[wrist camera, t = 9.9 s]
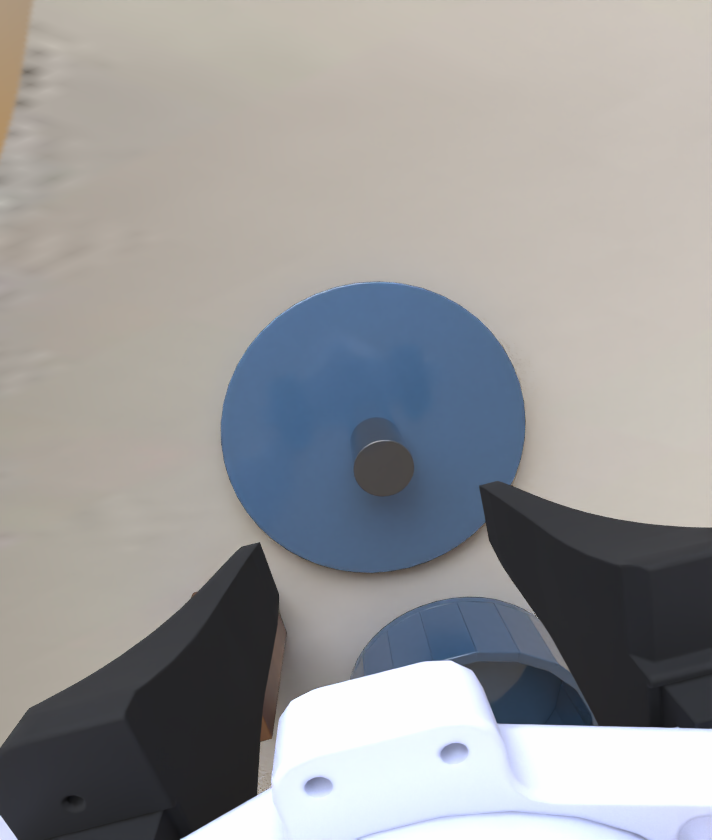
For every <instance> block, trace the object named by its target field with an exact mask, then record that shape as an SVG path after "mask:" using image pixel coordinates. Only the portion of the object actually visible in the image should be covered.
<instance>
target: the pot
mask: <svg viewBox="0 0 712 840" xmlns="http://www.w3.org/2000/svg"><path fill="white" fill-rule="evenodd" d="M424 661H453V662H455V663H457V664H459V665H461V666H463V667H466V668H468V669H470V670H472V671H473V672H474V674H475V676H476V677H477V679H478V680H479V682H480V684H481V685H482V687H483V689H484V691H485V694H486V696H487V699H488V702H489V704H490V707H491V709H492V712H493V714H494V717H495V719H496V722H497V724H533V725H575V726H599V725H598V723H597V721H596V719H595V717H594V715H593V713H592V711H591V709H590V707H589V706H588V704H587V702H586V700H585V698H584V696H583V694H582V692H581V691H580V689H579V687H578V685H577V683H576V681H575V679H574V678H573V676H572V674H571V672H570V670H569V668H568V666H567V665H566V663H565V661H564V659H563V657H562V656H561V654H560V652H559V650H558V649H557V647H556V645H555V643H554V641H553V640H552V638H551V636H550V635H549V633H548V631H547V630H546V628H545V627H544V625H543V624H542V622H541V621H540V620H539V619H538V618H537V617H536V616H534V615H533V614H531V613H529V612H528V611H526V610H524V609H522V608H520V607H518V606H515V605H513V604H510V603H507V602H503V601H500V600H496V599H489V598H482V597H461V598H451V599H445V600H440V601H436V602H432V603H429V604H426V605H423V606H420V607H418V608H416V609H413V610H411V611H409V612H407V613H405V614H403V615H402V616H400V617H398V618H396V619H395V620H393V621H392V622H391V623H389V624H388V625H387V626H385V627H384V628H383V629H381V630H380V631H379V632H378V633H377V634H376V635H375V636H374V637H373V638H372V639H371V641H370V642H369V643H368V644H367V645H366V647H365V648H364V649H363V651H362V653H361V654H360V656H359V658H358V659H357V661H356V664H355V666H354V668H353V671H352V674H351V678H350V680H352V679H356V678H360V677H364V676H368V675H372V674H376V673H380V672H384V671H388V670H392V669H396V668H400V667H404V666H408V665H412V664H416V663H420V662H424Z"/></svg>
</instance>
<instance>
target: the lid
mask: <svg viewBox="0 0 712 840" xmlns="http://www.w3.org/2000/svg"><path fill="white" fill-rule="evenodd" d="M524 439H525V410H524V400H523V396H522V392H521V387H520V383H519V380H518V378H517V375H516V372H515V370H514V367H513V365H512V363H511V361H510V359H509V357H508V356H507V354H506V352H505V350H504V348H503V347H502V346H501V344H500V343H499V342H498V340H497V339H496V338H495V336H494V335H493V334H492V332H491V331H490V330H489V329H488V328H487V327H486V326H485V325H484V324H483V323H482V322H481V321H480V320H479V319H478V318H477V317H475V316H474V315H473V314H471V313H470V312H469V311H467V310H466V309H465V308H463V307H462V306H461V305H459V304H457V303H455V302H453V301H451V300H450V299H448V298H446V297H444V296H442V295H440V294H437V293H434V292H432V291H429V290H426V289H424V288H420V287H416V286H411V285H407V284H402V283H392V282H362V283H354V284H349V285H344V286H339V287H334V288H331V289H329V290H326V291H323V292H320V293H317V294H314V295H312V296H310V297H308V298H306V299H304V300H302V301H300V302H299V303H297V304H295V305H293V306H292V307H290V308H289V309H287V310H286V311H285V312H283V313H282V314H280V315H279V316H277V317H276V318H275V319H274V320H273V321H272V322H271V323H270V324H269V325H268V326H267V327H265V328H264V329H263V330H262V331H261V332H260V333H259V335H258V336H257V337H256V338H255V340H254V341H253V342H252V343H251V344H250V346H249V347H248V348H247V350H246V351H245V353H244V355H243V356H242V358H241V360H240V361H239V363H238V365H237V366H236V369H235V371H234V373H233V376H232V378H231V380H230V383H229V385H228V389H227V393H226V396H225V400H224V404H223V411H222V419H221V445H222V451H223V458H224V463H225V466H226V470H227V473H228V476H229V480H230V482H231V484H232V486H233V489H234V491H235V493H236V495H237V497H238V499H239V500H240V502H241V504H242V505H243V507H244V508H245V510H246V511H247V513H248V514H249V515H250V517H251V518H252V519H253V520H254V521H255V523H256V524H257V525H258V526H259V527H260V528H261V529H262V530H263V531H264V532H265V533H266V534H267V535H268V536H269V537H271V538H272V539H273V540H274V541H276V542H277V543H278V544H280V545H281V546H283V547H284V548H285V549H287V550H289V551H290V552H292V553H294V554H296V555H298V556H300V557H301V558H303V559H306V560H308V561H311V562H313V563H316V564H318V565H322V566H325V567H329V568H333V569H337V570H343V571H350V572H364V573H376V572H388V571H395V570H400V569H405V568H410V567H413V566H416V565H419V564H422V563H425V562H428V561H430V560H432V559H434V558H437V557H439V556H441V555H443V554H445V553H447V552H448V551H450V550H452V549H453V548H455V547H457V546H458V545H460V544H461V543H462V542H464V541H465V540H466V539H468V538H469V537H470V536H472V535H473V534H474V533H475V532H476V531H477V530H478V529H479V528H480V527H481V526H482V525H483V524H484V523H485V522H486V521H485V515H484V510H483V505H482V500H481V494H480V489H479V485H483V484H487V483H491V482H495V481H500V482H503V483H506V484H508V485H511V484H512V482H513V479H514V477H515V475H516V472H517V469H518V466H519V463H520V460H521V455H522V450H523V445H524Z"/></svg>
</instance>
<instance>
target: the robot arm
mask: <svg viewBox="0 0 712 840" xmlns="http://www.w3.org/2000/svg"><path fill="white" fill-rule="evenodd" d="M479 489H480V494H481V500H482V505H483V510H484V515H485V521H486V526H487V531H488V536H489V541H490V543H491V545H492V547H493V549H494V551H495V553H496V555H497V557H498V559H499V561H500V563H501V564H502V566H503V568H504V569H505V571H506V572H507V574H508V575H509V577H510V578H511V579H512V581H513V582H514V584H515V585H516V587H517V588H518V590H519V591H520V592H521V594H522V595H523V597H524V598H525V599H526V601H527V602H528V604H529V605H530V607H531V608H532V609H533V611H534V612H535V614H536V615H537V616H538V618H539V619H540V621H541V622H542V624H543V625H544V627H545V628H546V630H547V631H548V633H549V635H550V636H551V638H552V640H553V641H554V643H555V645H556V647H557V649H558V650H559V652H560V654H561V656H562V657H563V659H564V661H565V663H566V665H567V666H568V668H569V670H570V672H571V674H572V676H573V678H574V679H575V681H576V683H577V685H578V687H579V689H580V691H581V692H582V694H583V696H584V698H585V700H586V702H587V704H588V706H589V707H590V709H591V711H592V713H593V715H594V717H595V719H596V721H597V723H598V725H599V726H575V725H533V724H497V722H496V719H495V717H494V714H493V712H492V709H491V707H490V704H489V702H488V699H487V696H486V694H485V691H484V689H483V687H482V685H481V684H480V682H479V680H478V679H477V677H476V676H475V674H474V672H473V671H472V670H470V669H468V668H466V667H463V666H461V665H459V664H457V663H455V662H453V661H424V662H420V663H416V664H412V665H408V666H404V667H400V668H396V669H392V670H388V671H384V672H380V673H376V674H372V675H368V676H364V677H360V678H356V679H352V680H349V681H345V682H341V683H337V684H333V685H329V686H325V687H321V688H317V689H314V690H312V691H310V692H308V693H306V694H304V695H302V696H300V697H298V698H296V699H294V700H292V701H291V702H290V704H289V705H288V707H287V708H286V710H285V711H284V712H283V714H282V715H281V717H280V718H279V723H278V731H277V739H276V747H275V755H274V763H273V771H272V779H271V782H272V787H271V788H269V789H267V790H265V791H264V792H262V793H260V794H258V795H257V786H258V768H259V752H260V738H261V726H262V713H263V705H264V698H265V691H266V686H267V680H268V675H269V670H270V664H271V659H272V654H273V649H274V643H275V637H276V632H277V626H278V612H279V593H278V591H277V588H276V585H275V582H274V580H273V577H272V574H271V571H270V569H269V566H268V563H267V560H266V558H265V555H264V552H263V550H262V547H261V544H260V542H259V543H255V544H251V545H247V546H243V547H241V548H240V549H239V550H237V551H236V552H235V553H234V554H233V555H232V556H231V557H230V558H229V560H228V561H227V562H226V563H225V564H224V565H223V566H222V567H221V568H220V569H219V570H218V571H217V572H216V573H215V575H214V576H213V577H212V578H211V579H210V580H209V581H208V582H207V583H206V584H205V585H204V586H203V587H202V588H201V589H200V590H199V591H198V592H197V593H196V594H195V595H194V596H193V597H192V598H191V599H190V600H189V601H188V602H187V603H186V604H185V605H184V606H183V607H182V608H181V609H180V610H178V611H177V612H176V613H175V614H174V615H173V616H172V617H171V618H169V619H168V620H167V621H166V622H165V623H163V624H162V625H161V626H160V627H159V628H157V629H156V630H155V631H154V632H152V633H151V634H150V635H149V636H147V637H146V638H144V639H143V640H142V641H140V642H139V643H138V644H136V645H135V646H133V647H132V648H131V649H129V650H128V651H127V652H125V653H124V654H122V655H121V656H120V657H118V658H117V659H115V660H113V661H112V662H110V663H109V664H107V665H106V666H104V667H103V668H101V669H99V670H98V671H96V672H94V673H93V674H91V675H90V676H88V677H86V678H85V679H83V680H81V681H79V682H78V683H76V684H74V685H72V686H71V687H69V688H67V689H65V690H63V691H61V692H59V693H58V694H56V695H54V696H52V697H50V698H48V699H46V700H44V701H43V702H41V703H39V704H37V705H35V706H33V707H31V708H29V709H28V710H27V712H26V713H25V715H24V716H23V717H22V719H21V720H20V721H19V723H18V724H17V726H16V727H15V728H14V730H13V731H12V732H11V734H10V735H9V737H8V738H7V739H6V741H5V742H4V743H3V745H2V746H1V748H0V840H712V528H696V527H677V526H663V525H653V524H644V523H637V522H631V521H624V520H618V519H613V518H608V517H603V516H599V515H595V514H591V513H586V512H583V511H579V510H575V509H572V508H569V507H566V506H563V505H560V504H557V503H554V502H551V501H548V500H546V499H543V498H540V497H538V496H535V495H533V494H530V493H528V492H525V491H523V490H520V489H518V488H516V487H513V486H511V485H508V484H506V483H503V482H500V481H495V482H491V483H487V484H483V485H479Z"/></svg>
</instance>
